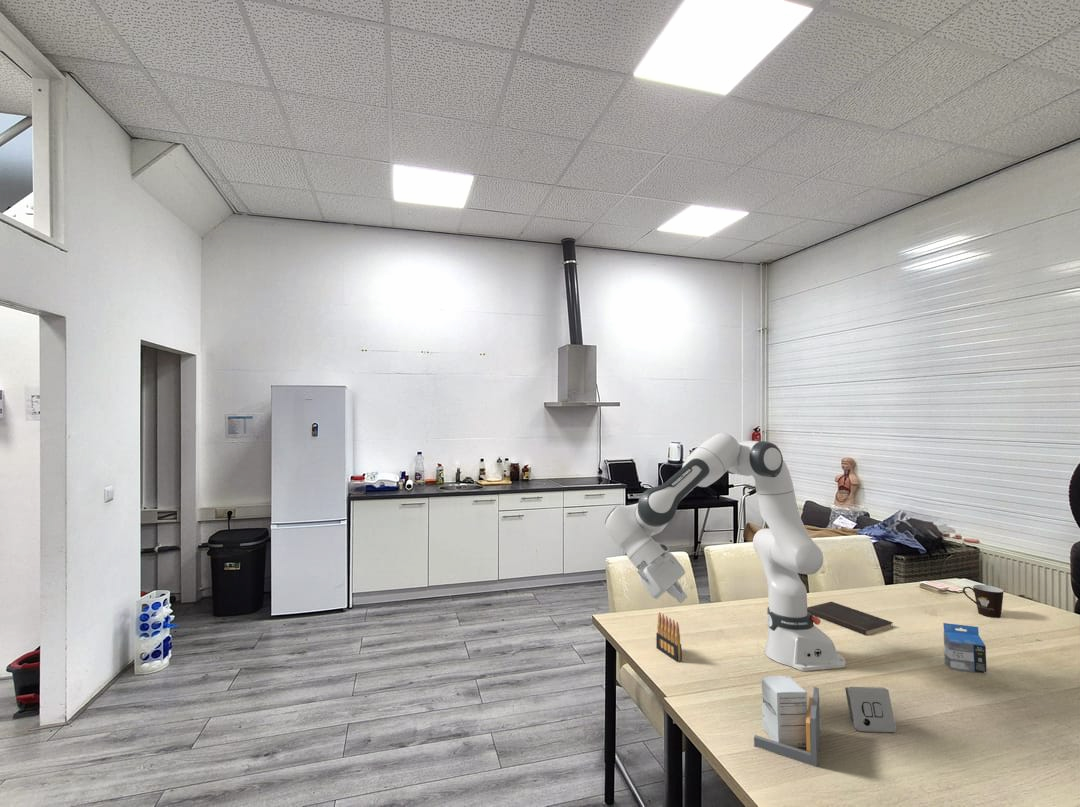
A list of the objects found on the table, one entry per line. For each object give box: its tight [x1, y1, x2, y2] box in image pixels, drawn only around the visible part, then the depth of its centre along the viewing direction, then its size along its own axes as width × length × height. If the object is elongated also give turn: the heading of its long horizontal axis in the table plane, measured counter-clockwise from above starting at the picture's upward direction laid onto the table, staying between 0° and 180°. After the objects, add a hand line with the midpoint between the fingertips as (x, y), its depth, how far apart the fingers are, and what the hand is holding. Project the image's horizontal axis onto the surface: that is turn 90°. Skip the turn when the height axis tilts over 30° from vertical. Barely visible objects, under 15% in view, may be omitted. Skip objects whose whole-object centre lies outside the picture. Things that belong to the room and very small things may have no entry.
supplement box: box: [760, 675, 808, 748], centre depth 113 cm, size 7×7×13 cm
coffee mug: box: [962, 584, 1004, 619], centre depth 185 cm, size 12×9×10 cm
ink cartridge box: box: [942, 622, 988, 675], centre depth 143 cm, size 9×4×12 cm, turn 70°
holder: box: [753, 686, 821, 768], centre depth 112 cm, size 12×14×10 cm
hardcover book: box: [807, 601, 893, 636], centre depth 180 cm, size 16×23×2 cm
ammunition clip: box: [656, 611, 683, 663], centre depth 154 cm, size 11×2×12 cm, turn 24°
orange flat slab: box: [806, 696, 813, 753], centre depth 110 cm, size 1×12×7 cm, turn 147°
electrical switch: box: [844, 686, 897, 733], centre depth 117 cm, size 9×5×9 cm, turn 86°
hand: (684, 600), depth 127 cm, fingers closed
